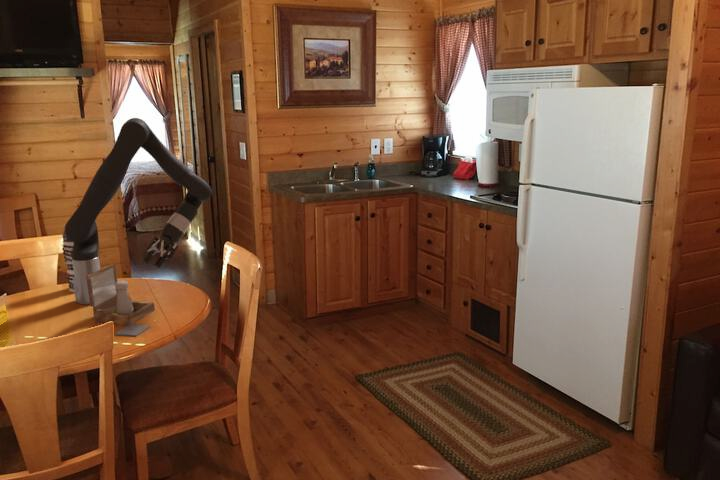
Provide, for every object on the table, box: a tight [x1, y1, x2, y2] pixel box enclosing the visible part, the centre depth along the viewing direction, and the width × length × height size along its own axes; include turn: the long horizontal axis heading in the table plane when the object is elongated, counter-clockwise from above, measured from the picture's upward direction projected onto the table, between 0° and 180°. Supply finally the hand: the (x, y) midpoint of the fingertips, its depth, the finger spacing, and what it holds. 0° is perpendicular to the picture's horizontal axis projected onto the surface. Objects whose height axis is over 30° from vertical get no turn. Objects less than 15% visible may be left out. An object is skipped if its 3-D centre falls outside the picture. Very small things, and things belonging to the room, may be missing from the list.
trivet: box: [114, 324, 151, 338], centre depth 203 cm, size 8×8×1 cm
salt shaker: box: [115, 280, 135, 316], centre depth 215 cm, size 6×6×13 cm
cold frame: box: [86, 263, 156, 326], centre depth 214 cm, size 15×15×17 cm
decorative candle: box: [61, 229, 75, 293], centre depth 244 cm, size 9×9×25 cm
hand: (150, 264), depth 220 cm, fingers open, 8 cm apart
